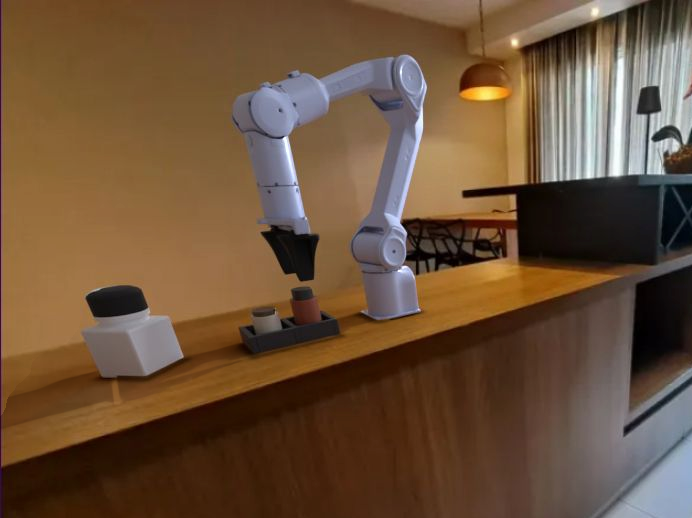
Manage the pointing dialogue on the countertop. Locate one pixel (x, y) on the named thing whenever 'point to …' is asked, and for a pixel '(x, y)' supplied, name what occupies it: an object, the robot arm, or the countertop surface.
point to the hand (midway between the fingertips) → (298, 276)
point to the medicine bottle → (128, 333)
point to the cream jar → (265, 320)
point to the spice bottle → (304, 306)
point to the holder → (289, 333)
